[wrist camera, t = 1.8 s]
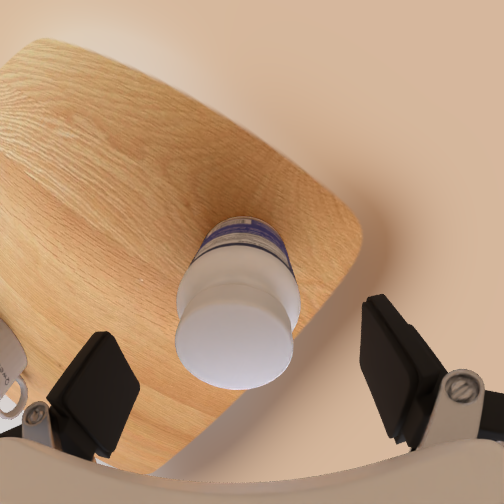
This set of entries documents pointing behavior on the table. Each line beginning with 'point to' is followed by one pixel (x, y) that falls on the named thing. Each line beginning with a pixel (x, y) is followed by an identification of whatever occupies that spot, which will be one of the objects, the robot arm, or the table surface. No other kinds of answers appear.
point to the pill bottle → (238, 306)
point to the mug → (11, 368)
